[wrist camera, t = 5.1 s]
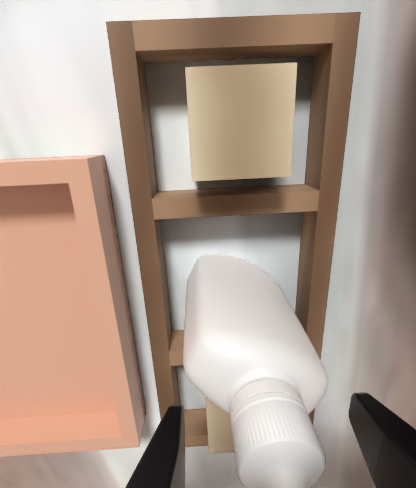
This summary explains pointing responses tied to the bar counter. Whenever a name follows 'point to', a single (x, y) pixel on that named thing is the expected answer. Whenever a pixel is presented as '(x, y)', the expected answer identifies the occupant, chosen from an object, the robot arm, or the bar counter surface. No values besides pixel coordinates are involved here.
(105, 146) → the bar counter surface
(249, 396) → the eye dropper bottle
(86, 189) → the tray
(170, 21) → the frame
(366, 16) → the bar counter surface
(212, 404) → the block
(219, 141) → the block
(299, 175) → the bar counter surface
